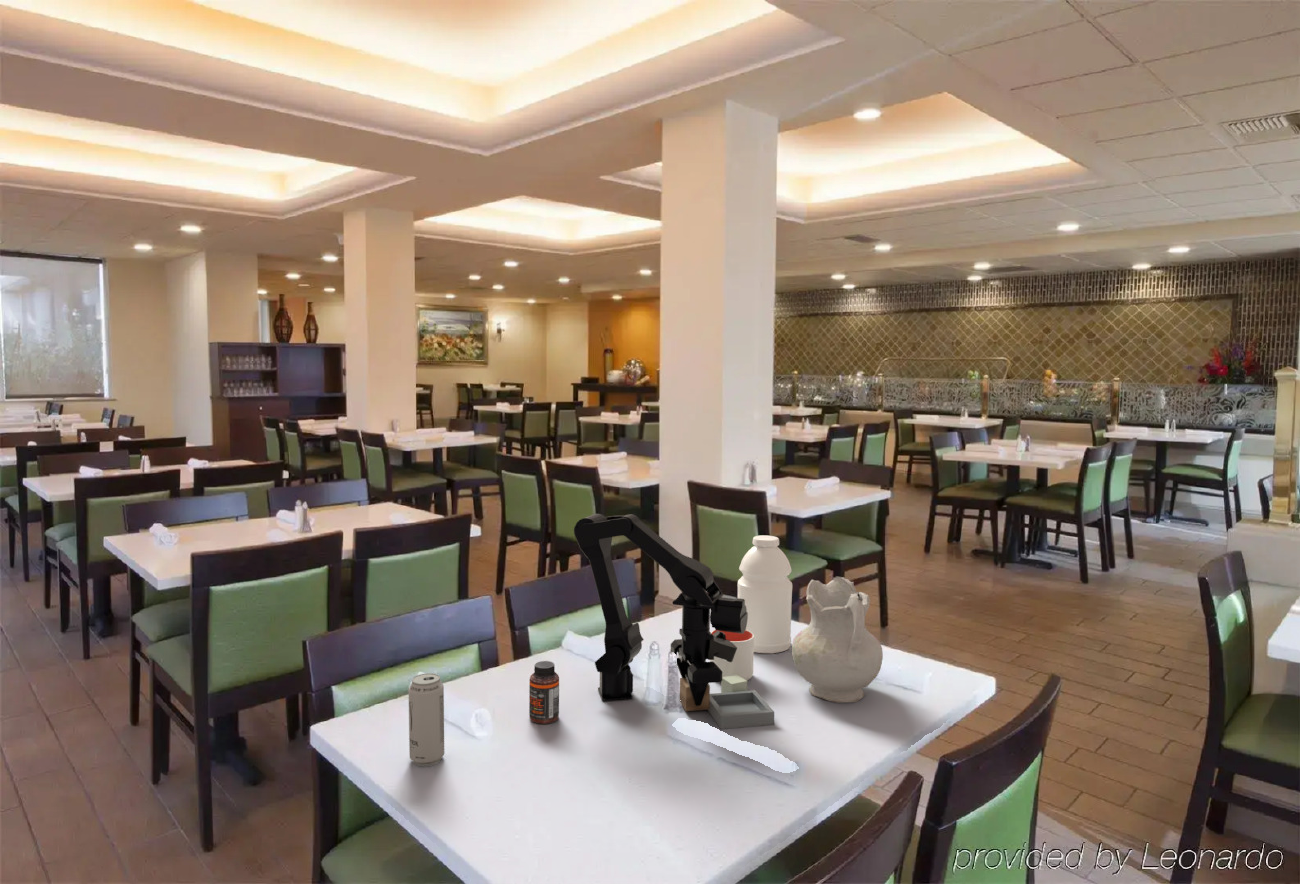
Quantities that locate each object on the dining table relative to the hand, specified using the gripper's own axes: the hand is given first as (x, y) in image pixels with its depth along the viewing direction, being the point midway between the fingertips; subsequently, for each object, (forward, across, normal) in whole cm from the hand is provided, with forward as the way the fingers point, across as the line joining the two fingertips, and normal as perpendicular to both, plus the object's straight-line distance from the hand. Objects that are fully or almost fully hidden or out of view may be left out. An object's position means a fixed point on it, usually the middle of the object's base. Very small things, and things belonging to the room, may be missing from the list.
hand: (694, 700), depth 166 cm
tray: (+2, -5, -8) cm, 10 cm away
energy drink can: (+2, -12, +53) cm, 54 cm away
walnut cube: (+1, 0, 0) cm, 1 cm away
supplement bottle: (+2, +1, +31) cm, 31 cm away
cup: (+2, +15, -13) cm, 20 cm away
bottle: (+2, +34, -28) cm, 44 cm away
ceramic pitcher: (+2, +1, -33) cm, 33 cm away
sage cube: (+2, +4, -10) cm, 11 cm away
